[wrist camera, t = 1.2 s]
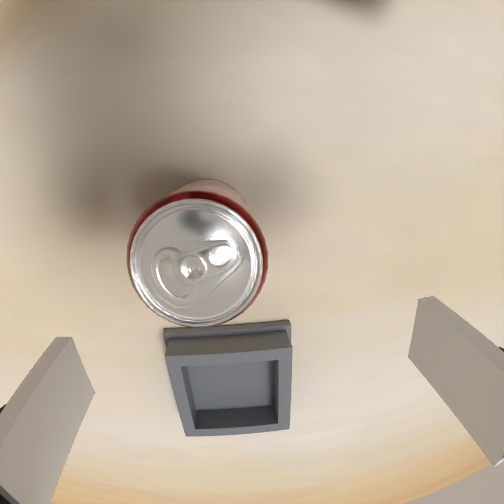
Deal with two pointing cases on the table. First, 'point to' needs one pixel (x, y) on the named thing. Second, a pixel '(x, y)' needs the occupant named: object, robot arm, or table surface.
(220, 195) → the soda can
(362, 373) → the table surface
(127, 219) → the table surface
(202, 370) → the box
